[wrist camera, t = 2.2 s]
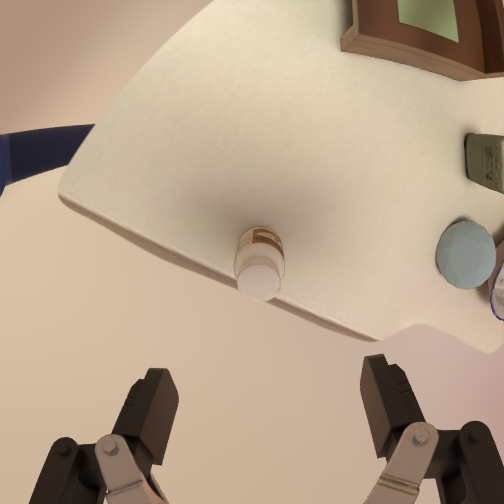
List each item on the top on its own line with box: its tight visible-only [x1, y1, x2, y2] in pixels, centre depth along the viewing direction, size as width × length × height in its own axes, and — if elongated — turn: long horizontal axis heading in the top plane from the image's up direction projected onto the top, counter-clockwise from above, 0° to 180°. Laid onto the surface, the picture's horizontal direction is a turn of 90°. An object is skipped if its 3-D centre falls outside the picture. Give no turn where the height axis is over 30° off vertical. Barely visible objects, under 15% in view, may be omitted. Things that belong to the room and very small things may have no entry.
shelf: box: [341, 0, 504, 81], centre depth 16 cm, size 14×10×9 cm
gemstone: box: [437, 221, 496, 289], centre depth 28 cm, size 8×8×5 cm
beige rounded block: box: [464, 134, 504, 194], centre depth 21 cm, size 6×5×8 cm
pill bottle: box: [234, 227, 285, 302], centre depth 27 cm, size 4×4×8 cm
